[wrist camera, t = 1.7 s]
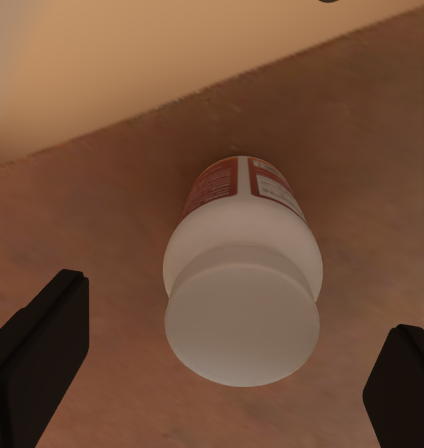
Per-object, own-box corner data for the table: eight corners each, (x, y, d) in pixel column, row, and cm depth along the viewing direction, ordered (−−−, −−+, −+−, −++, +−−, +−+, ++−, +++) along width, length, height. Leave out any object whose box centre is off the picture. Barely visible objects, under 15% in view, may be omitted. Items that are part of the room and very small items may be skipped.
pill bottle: (192, 248, 21) (147, 400, 11) (187, 153, 19) (124, 238, 9) (289, 250, 21) (334, 411, 11) (297, 152, 18) (363, 242, 8)
